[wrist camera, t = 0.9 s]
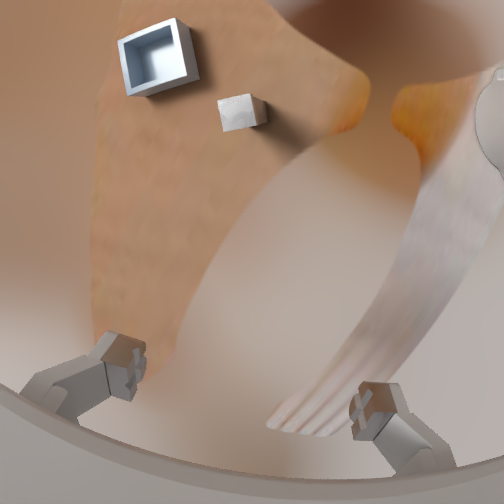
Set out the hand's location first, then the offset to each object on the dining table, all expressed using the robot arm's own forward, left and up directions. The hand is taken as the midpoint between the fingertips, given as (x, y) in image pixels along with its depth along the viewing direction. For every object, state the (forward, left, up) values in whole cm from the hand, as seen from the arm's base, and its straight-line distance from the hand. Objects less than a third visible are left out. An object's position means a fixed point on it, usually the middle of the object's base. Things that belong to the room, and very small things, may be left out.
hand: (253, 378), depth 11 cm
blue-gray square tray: (+13, -21, -35) cm, 42 cm away
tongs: (+2, -10, -35) cm, 36 cm away
